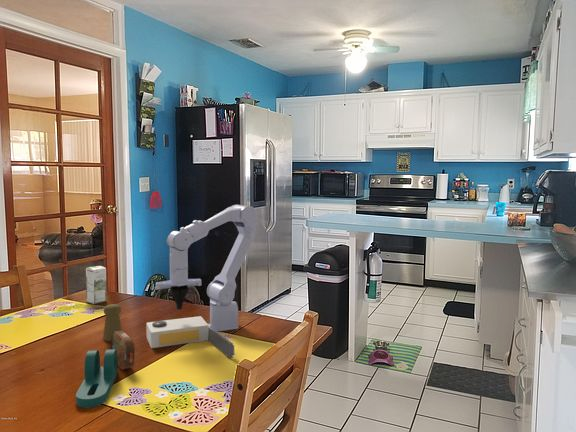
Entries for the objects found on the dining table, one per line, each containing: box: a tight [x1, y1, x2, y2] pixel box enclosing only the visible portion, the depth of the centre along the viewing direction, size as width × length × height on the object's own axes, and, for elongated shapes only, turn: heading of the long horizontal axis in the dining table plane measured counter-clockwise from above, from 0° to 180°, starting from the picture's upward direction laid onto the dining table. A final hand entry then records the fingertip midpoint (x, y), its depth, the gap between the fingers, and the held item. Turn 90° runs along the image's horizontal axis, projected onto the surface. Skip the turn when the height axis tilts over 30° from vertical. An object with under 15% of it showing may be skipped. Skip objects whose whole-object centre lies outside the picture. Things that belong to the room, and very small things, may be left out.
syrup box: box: [85, 265, 107, 305], centre depth 189 cm, size 6×6×14 cm
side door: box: [207, 327, 235, 359], centre depth 140 cm, size 17×2×4 cm, turn 33°
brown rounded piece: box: [110, 330, 136, 370], centre depth 129 cm, size 15×3×8 cm, turn 36°
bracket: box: [75, 348, 119, 409], centre depth 114 cm, size 18×7×8 cm, turn 11°
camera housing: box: [146, 315, 209, 349], centre depth 148 cm, size 18×11×6 cm, turn 115°
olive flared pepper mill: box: [103, 303, 123, 342], centre depth 149 cm, size 6×6×11 cm
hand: (179, 308), depth 150 cm, fingers closed
